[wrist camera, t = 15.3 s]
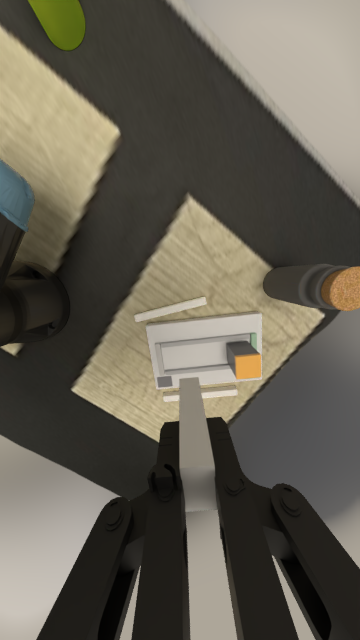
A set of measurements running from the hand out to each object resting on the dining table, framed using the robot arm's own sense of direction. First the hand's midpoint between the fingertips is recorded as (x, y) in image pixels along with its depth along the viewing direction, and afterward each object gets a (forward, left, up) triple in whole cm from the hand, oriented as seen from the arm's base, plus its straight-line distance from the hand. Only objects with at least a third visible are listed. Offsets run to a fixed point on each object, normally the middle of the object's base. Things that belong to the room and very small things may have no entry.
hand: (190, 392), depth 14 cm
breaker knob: (+9, -7, -20) cm, 23 cm away
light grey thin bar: (-3, +3, -22) cm, 22 cm away
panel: (+3, -7, -22) cm, 23 cm away
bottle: (+18, +5, -22) cm, 29 cm away
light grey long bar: (+1, -17, -22) cm, 28 cm away
